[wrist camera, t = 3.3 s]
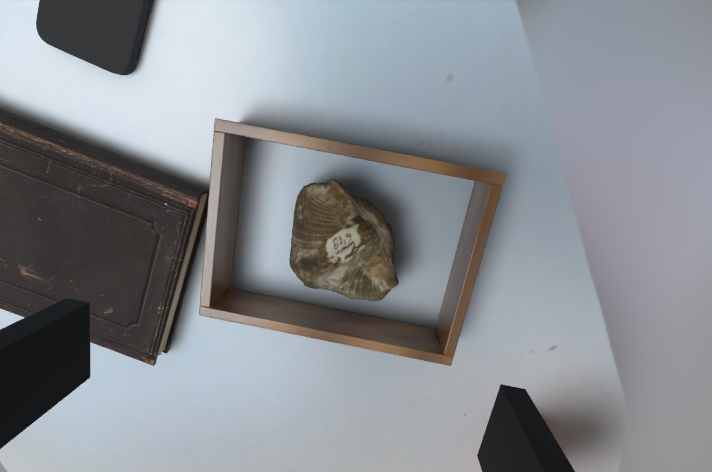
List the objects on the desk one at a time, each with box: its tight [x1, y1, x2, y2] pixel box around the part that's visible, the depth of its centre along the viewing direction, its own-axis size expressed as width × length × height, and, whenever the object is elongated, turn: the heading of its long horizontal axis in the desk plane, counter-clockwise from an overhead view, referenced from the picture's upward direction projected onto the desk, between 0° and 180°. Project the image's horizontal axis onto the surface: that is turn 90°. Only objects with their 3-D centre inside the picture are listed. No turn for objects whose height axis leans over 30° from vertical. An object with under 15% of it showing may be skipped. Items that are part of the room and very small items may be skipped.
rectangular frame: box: [199, 119, 506, 366], centre depth 27 cm, size 20×15×4 cm
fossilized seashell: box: [290, 180, 399, 301], centre depth 27 cm, size 8×7×10 cm
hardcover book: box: [0, 109, 209, 366], centre depth 30 cm, size 16×23×2 cm
